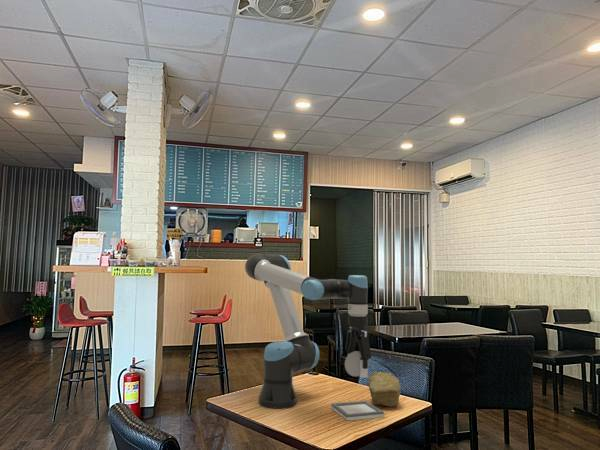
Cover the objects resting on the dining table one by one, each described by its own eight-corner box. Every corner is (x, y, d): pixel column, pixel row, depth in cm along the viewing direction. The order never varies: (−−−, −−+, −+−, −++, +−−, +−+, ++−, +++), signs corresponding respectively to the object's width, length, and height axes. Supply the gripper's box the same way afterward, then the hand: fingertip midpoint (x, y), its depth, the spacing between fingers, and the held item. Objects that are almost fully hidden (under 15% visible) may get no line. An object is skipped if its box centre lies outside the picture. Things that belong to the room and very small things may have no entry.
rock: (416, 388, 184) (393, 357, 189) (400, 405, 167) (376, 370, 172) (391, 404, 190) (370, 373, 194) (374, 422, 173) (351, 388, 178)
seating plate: (331, 408, 173) (331, 403, 173) (365, 405, 178) (365, 400, 178) (347, 420, 159) (347, 415, 159) (384, 417, 163) (384, 412, 164)
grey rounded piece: (339, 358, 165) (345, 343, 174) (344, 381, 168) (349, 366, 177) (364, 358, 162) (369, 343, 171) (369, 382, 165) (373, 366, 174)
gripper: (337, 312, 181) (336, 367, 179) (362, 318, 160) (361, 381, 158) (353, 312, 184) (353, 366, 182) (380, 318, 162) (380, 380, 160)
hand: (357, 373), depth 170 cm, fingers closed on grey rounded piece, 10 cm apart
